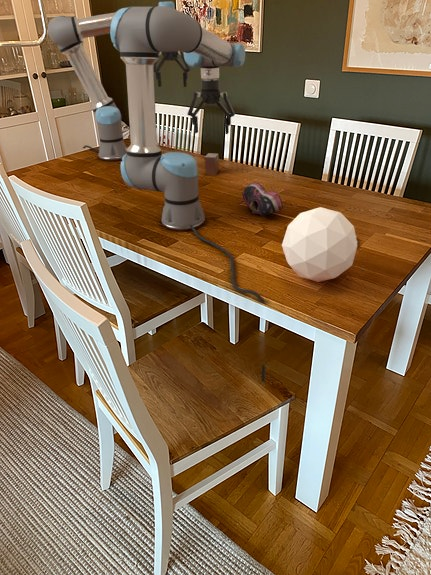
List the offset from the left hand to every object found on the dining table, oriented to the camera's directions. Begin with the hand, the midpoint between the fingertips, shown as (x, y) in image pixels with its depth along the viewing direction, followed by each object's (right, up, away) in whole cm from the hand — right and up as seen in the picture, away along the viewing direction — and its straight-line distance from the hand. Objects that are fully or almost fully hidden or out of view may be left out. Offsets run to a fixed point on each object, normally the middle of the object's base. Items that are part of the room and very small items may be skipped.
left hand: (172, 86), depth 227 cm
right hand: (+20, -36, -35) cm, 55 cm away
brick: (+21, -51, -25) cm, 60 cm away
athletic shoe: (+38, -75, -64) cm, 106 cm away
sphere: (+50, -100, -104) cm, 152 cm away
